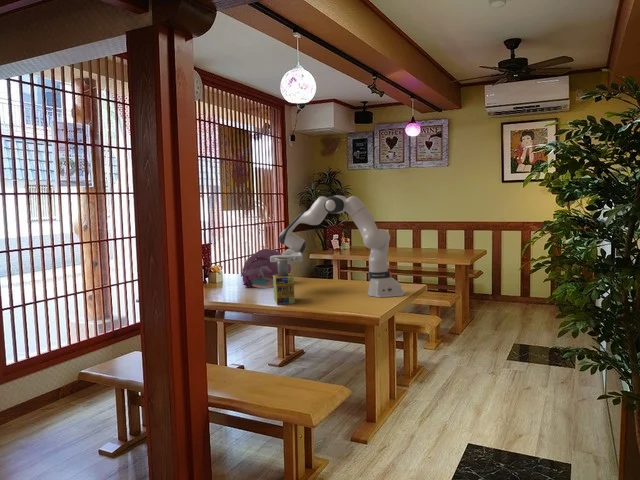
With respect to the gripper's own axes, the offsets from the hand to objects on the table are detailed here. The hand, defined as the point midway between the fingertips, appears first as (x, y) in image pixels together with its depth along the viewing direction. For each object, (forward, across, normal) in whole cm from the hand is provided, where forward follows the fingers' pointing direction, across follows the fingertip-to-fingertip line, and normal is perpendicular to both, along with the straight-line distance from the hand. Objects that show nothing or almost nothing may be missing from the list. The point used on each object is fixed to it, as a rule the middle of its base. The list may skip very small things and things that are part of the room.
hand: (284, 260), depth 300 cm
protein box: (+10, 0, +24) cm, 26 cm away
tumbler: (+10, 0, +8) cm, 13 cm away
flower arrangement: (-46, -23, +24) cm, 57 cm away
